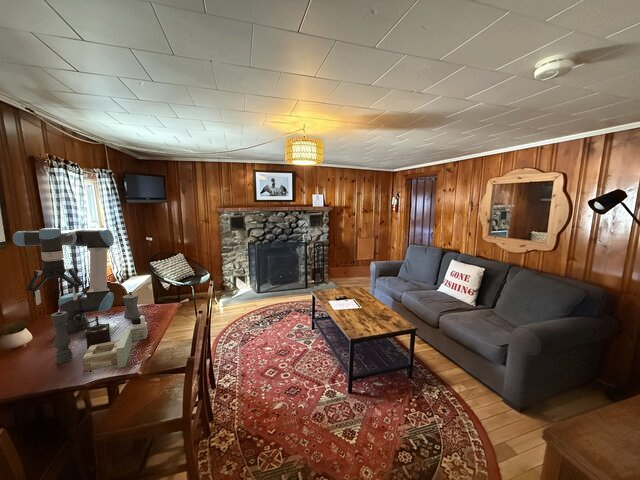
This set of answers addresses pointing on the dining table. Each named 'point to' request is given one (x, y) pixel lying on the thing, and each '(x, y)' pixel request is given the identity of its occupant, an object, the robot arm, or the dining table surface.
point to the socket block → (100, 355)
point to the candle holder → (61, 338)
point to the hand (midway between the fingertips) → (57, 301)
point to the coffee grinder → (95, 332)
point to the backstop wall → (124, 348)
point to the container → (139, 328)
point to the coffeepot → (131, 305)
